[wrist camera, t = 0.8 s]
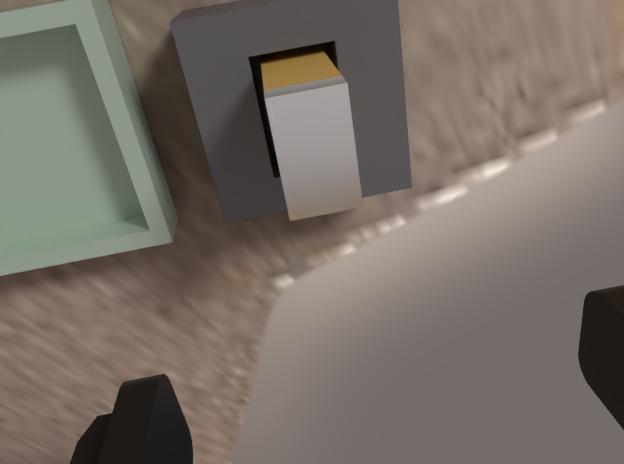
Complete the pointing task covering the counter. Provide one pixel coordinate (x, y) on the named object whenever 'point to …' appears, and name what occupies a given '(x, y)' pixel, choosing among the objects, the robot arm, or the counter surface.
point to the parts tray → (74, 142)
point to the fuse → (311, 131)
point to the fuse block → (250, 93)
